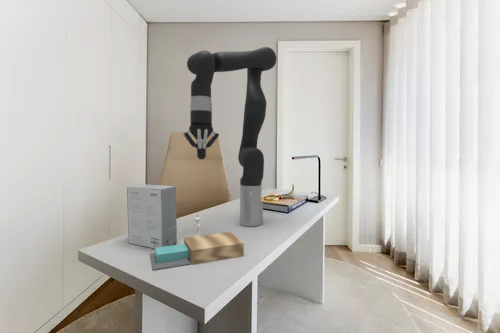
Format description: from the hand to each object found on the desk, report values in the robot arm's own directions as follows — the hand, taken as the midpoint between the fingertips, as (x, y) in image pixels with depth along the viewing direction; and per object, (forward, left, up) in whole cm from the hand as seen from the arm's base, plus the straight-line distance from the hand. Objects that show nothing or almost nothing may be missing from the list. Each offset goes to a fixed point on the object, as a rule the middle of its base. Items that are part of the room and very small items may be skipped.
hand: (201, 159), depth 98 cm
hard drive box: (+17, -1, -29) cm, 34 cm away
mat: (+14, +15, -29) cm, 35 cm away
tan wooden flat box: (0, +15, -29) cm, 33 cm away
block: (+13, +14, -29) cm, 34 cm away
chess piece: (+2, +2, -29) cm, 29 cm away
